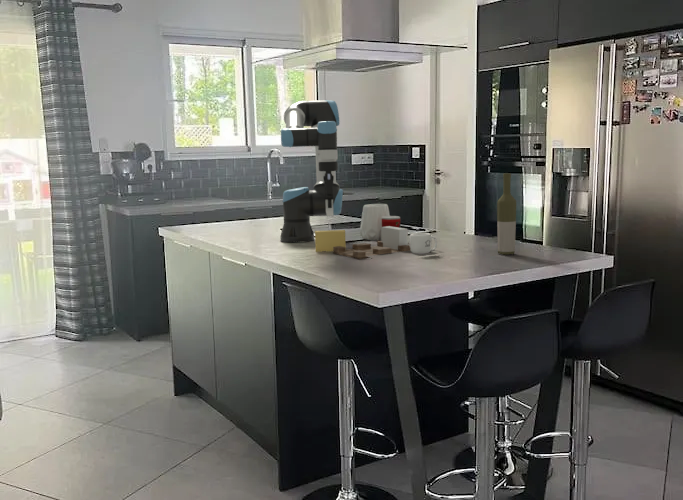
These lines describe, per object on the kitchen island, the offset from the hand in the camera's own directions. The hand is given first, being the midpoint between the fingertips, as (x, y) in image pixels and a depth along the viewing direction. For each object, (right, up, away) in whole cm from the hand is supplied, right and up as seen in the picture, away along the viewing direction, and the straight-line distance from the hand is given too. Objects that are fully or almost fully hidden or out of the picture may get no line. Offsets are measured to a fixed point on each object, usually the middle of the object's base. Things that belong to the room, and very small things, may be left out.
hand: (329, 214), depth 274 cm
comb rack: (+17, -15, -6) cm, 23 cm away
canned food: (+26, -11, +20) cm, 34 cm away
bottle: (+66, -16, -17) cm, 70 cm away
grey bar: (+26, -13, -1) cm, 29 cm away
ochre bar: (0, -14, +3) cm, 15 cm away
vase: (+20, -9, +32) cm, 39 cm away
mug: (+36, -16, -11) cm, 41 cm away
